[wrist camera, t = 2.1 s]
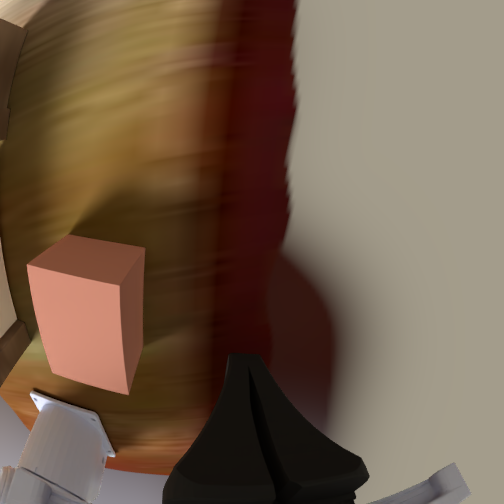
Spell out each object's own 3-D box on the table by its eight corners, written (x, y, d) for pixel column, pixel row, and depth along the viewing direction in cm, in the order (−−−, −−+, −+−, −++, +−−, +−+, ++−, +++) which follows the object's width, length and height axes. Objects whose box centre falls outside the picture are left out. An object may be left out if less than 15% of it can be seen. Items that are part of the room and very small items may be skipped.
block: (143, 345, 17) (128, 395, 12) (78, 329, 16) (52, 372, 12) (146, 246, 14) (119, 285, 10) (69, 233, 13) (26, 264, 9)
